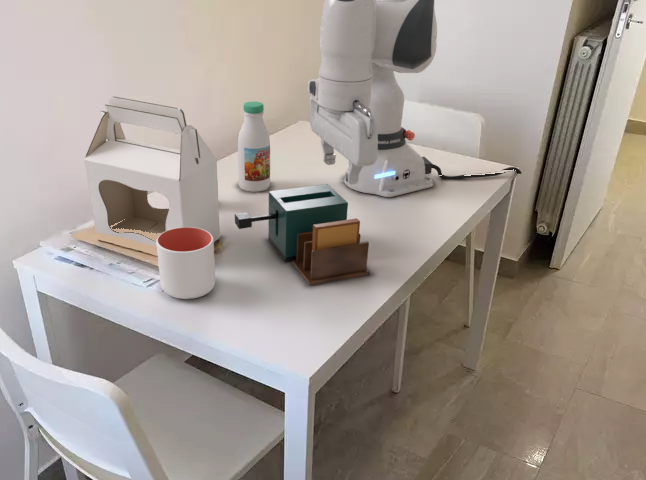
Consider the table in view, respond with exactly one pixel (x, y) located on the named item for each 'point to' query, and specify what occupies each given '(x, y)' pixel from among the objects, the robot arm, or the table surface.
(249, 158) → the milk bottle
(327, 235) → the toast
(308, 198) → the toaster
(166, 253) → the cup
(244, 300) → the table surface
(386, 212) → the table surface
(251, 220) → the carriage
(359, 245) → the toast rack
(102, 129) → the gable box
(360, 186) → the robot arm
